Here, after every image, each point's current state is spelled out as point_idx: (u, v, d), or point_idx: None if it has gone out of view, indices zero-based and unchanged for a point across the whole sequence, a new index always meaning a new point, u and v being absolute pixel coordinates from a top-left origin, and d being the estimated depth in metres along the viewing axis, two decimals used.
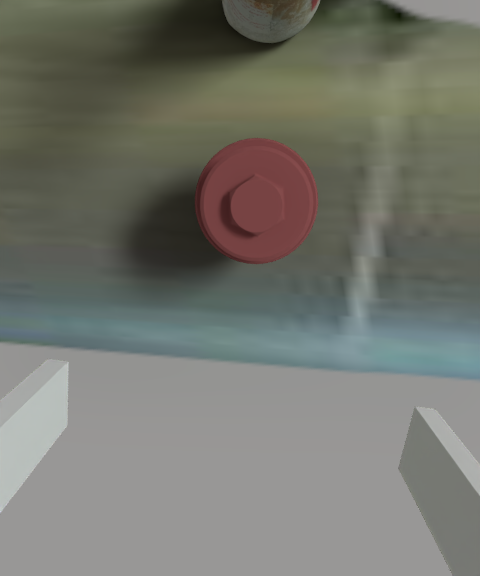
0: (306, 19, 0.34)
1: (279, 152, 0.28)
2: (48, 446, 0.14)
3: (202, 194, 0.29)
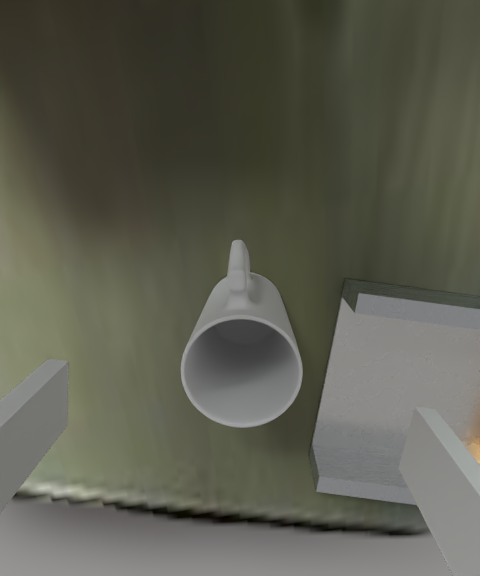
0: None
1: None
2: (48, 446, 0.14)
3: None
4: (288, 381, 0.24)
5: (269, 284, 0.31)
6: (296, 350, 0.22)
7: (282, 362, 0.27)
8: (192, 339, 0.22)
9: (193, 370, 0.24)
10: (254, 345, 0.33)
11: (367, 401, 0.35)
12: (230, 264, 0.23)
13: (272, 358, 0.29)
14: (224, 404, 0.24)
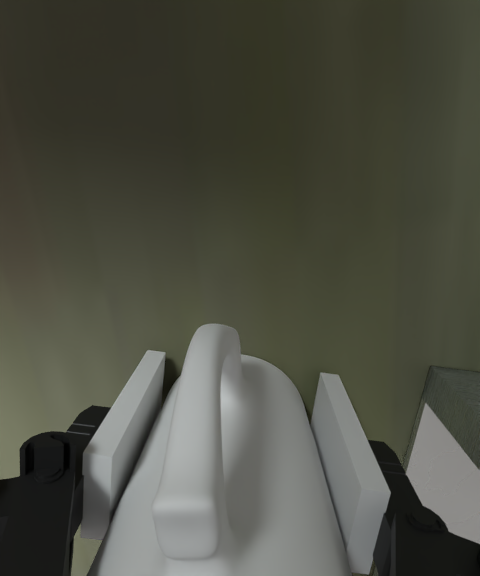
0: None
1: None
2: None
3: None
4: None
5: (282, 391, 0.15)
6: None
7: None
8: None
9: None
10: None
11: None
12: (169, 452, 0.07)
13: None
14: None
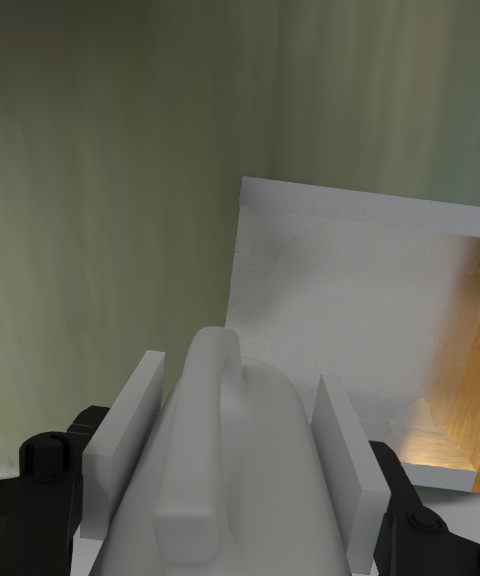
0: None
1: None
2: (152, 427, 0.16)
3: None
4: None
5: (282, 393, 0.15)
6: None
7: None
8: None
9: None
10: None
11: (283, 344, 0.27)
12: (169, 457, 0.07)
13: None
14: None
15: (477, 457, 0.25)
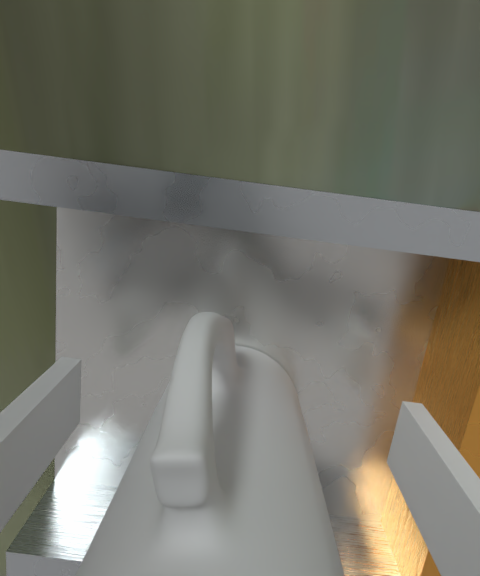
0: None
1: None
2: (62, 442, 0.14)
3: None
4: None
5: (275, 378, 0.16)
6: None
7: None
8: None
9: None
10: None
11: (140, 401, 0.19)
12: (165, 417, 0.08)
13: None
14: None
15: None
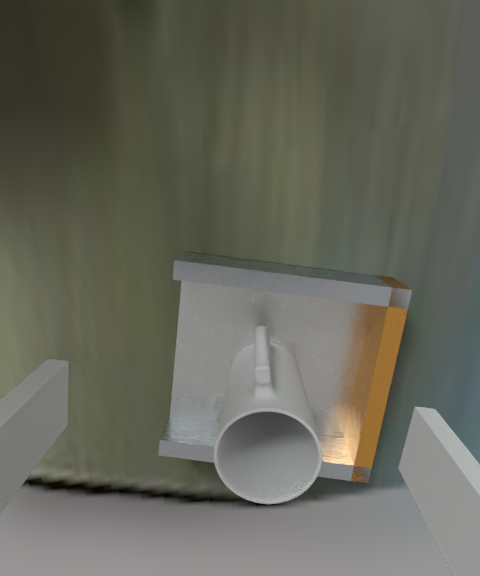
0: None
1: None
2: (48, 446, 0.14)
3: None
4: (309, 459, 0.27)
5: (287, 356, 0.34)
6: (316, 438, 0.24)
7: (301, 435, 0.30)
8: (224, 428, 0.25)
9: (223, 448, 0.27)
10: None
11: (218, 371, 0.37)
12: (256, 358, 0.26)
13: (291, 427, 0.32)
14: (251, 479, 0.27)
15: (354, 455, 0.34)
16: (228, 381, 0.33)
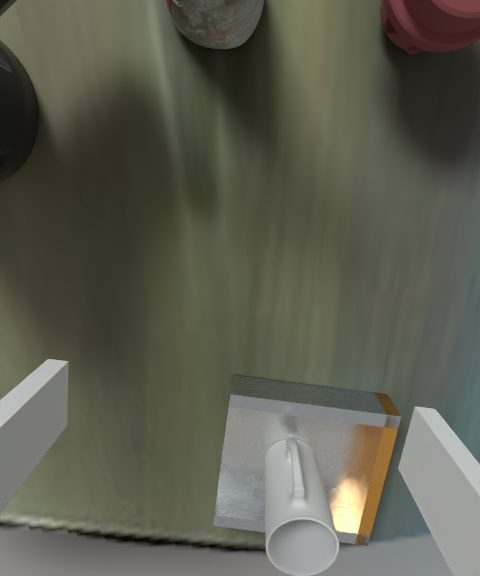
0: None
1: None
2: (48, 446, 0.14)
3: (460, 14, 0.27)
4: (328, 543, 0.39)
5: (309, 454, 0.46)
6: (335, 536, 0.36)
7: None
8: (274, 529, 0.36)
9: None
10: None
11: (255, 458, 0.49)
12: (294, 479, 0.37)
13: None
14: (288, 556, 0.39)
15: (357, 525, 0.46)
16: (267, 475, 0.44)
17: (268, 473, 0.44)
